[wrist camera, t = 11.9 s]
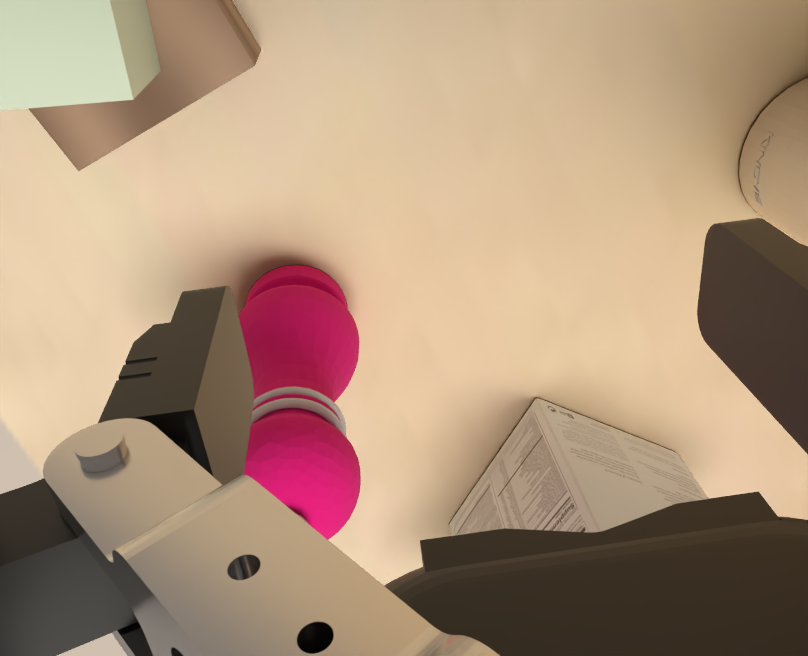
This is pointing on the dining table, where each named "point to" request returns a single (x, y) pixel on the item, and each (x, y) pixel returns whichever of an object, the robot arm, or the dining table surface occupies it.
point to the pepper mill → (302, 394)
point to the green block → (74, 52)
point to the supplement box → (573, 477)
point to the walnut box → (160, 78)
